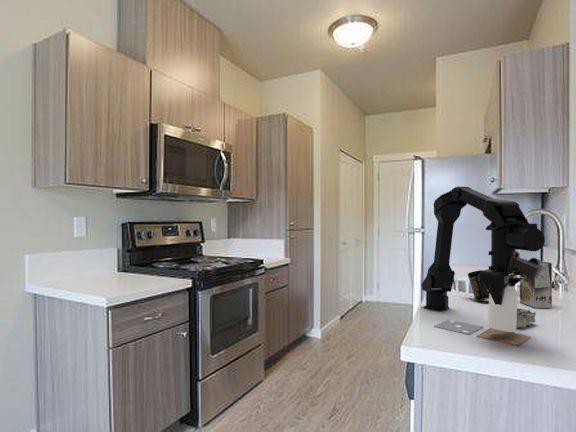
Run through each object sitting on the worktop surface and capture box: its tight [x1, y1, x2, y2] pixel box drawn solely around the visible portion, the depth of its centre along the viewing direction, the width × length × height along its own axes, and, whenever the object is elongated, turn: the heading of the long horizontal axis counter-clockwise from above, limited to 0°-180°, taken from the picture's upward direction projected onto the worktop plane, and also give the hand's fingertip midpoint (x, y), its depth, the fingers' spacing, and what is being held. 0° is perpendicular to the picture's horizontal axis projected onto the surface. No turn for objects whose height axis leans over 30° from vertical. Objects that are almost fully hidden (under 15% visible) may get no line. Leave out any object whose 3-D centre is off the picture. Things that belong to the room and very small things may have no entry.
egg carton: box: [516, 307, 537, 328], centre depth 111 cm, size 11×8×4 cm
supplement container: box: [467, 269, 490, 302], centre depth 142 cm, size 7×7×10 cm
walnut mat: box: [476, 328, 532, 348], centre depth 99 cm, size 10×10×1 cm
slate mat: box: [433, 319, 484, 336], centre depth 108 cm, size 10×10×1 cm
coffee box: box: [519, 260, 553, 309], centre depth 135 cm, size 9×6×16 cm
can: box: [487, 285, 518, 333], centre depth 99 cm, size 6×6×12 cm
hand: (503, 305), depth 99 cm, fingers closed on can, 6 cm apart
